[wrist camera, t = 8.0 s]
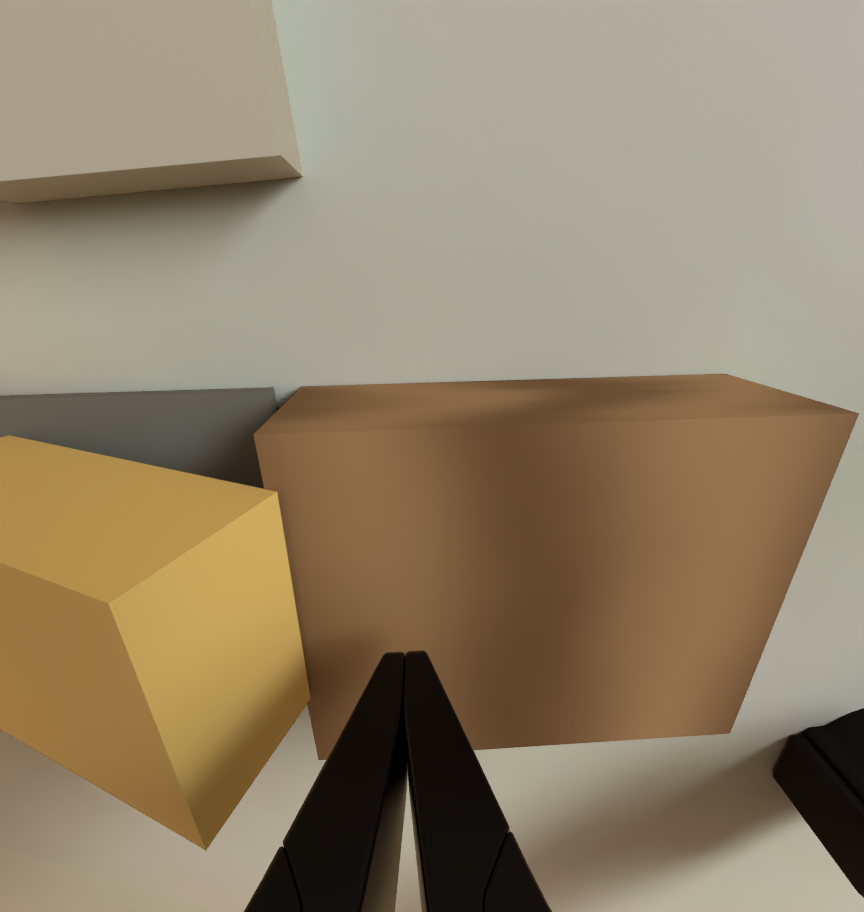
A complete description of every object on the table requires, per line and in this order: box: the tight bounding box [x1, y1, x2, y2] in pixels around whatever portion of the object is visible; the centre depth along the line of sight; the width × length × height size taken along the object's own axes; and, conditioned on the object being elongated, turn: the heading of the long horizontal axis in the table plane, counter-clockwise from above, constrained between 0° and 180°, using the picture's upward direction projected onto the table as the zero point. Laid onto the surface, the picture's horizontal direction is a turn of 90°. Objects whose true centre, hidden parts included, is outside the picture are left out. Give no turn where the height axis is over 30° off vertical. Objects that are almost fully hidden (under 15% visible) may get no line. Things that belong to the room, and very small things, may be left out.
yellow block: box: [0, 435, 311, 850], centre depth 9 cm, size 8×6×3 cm
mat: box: [0, 388, 277, 489], centre depth 12 cm, size 9×9×1 cm
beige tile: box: [0, 0, 303, 203], centre depth 7 cm, size 6×4×2 cm
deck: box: [253, 374, 859, 760], centre depth 11 cm, size 11×9×4 cm
